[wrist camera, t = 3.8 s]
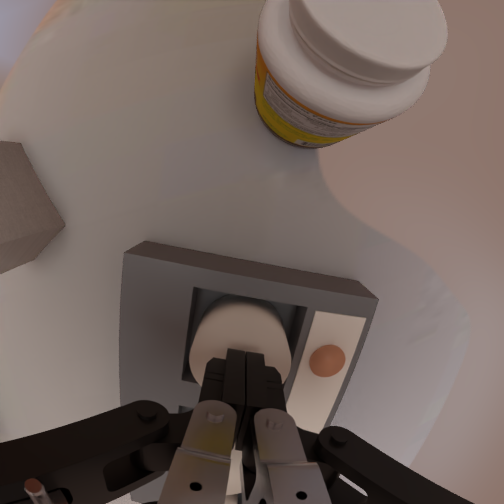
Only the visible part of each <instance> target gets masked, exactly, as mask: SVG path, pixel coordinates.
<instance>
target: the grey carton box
mask: <svg viewBox="0 0 504 504" xmlns="http://www.w3.org/2000/svg"><path fill="white" fill-rule="evenodd" d="M64 226H65V223H64V222H63V220H62V219H61V217H60V215H59V214H58V212H57V210H56V209H55V207H54V205H53V204H52V202H51V200H50V198H49V197H48V195H47V193H46V191H45V190H44V188H43V186H42V184H41V182H40V181H39V179H38V177H37V175H36V173H35V171H34V169H33V167H32V165H31V164H30V162H29V160H28V158H27V156H26V154H25V152H24V150H23V147H22V145H21V143H15V142H7V141H0V274H2V273H4V272H6V271H9V270H11V269H13V268H16V267H18V266H20V265H23V264H25V263H27V262H30V261H32V260H34V259H35V258H36V257H37V256H38V255H39V253H40V252H41V251H42V250H43V249H44V248H45V247H46V246H47V245H48V243H49V242H50V241H51V240H52V239H53V238H54V237H55V236H56V235H57V234H58V233H59V232H60V231H61V230H62V228H63V227H64Z"/></svg>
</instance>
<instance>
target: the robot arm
mask: <svg viewBox="0 0 504 504" xmlns="http://www.w3.org/2000/svg"><path fill="white" fill-rule="evenodd" d="M234 444H235V450H238V451H242V459H241V462H240V466H239V470H240V481H241V492H242V503H243V504H474V503H472V502H470V501H468V500H466V499H464V498H462V497H460V496H458V495H456V494H454V493H452V492H450V491H448V490H447V489H445V488H443V487H441V486H439V485H437V484H435V483H433V482H432V481H430V480H428V479H426V478H425V477H423V476H421V475H419V474H418V473H416V472H414V471H413V470H411V469H409V468H408V467H406V466H404V465H403V464H401V463H399V462H398V461H396V460H394V459H393V458H391V457H389V456H388V455H386V454H385V453H383V452H381V451H380V450H378V449H377V448H375V447H374V446H372V445H371V444H369V443H367V442H366V441H364V440H363V439H361V438H360V437H358V436H357V435H355V434H354V433H352V432H351V431H349V430H347V429H345V428H342V427H338V426H329V427H326V428H324V429H322V430H321V431H320V433H319V434H318V433H314V432H310V431H307V430H304V429H301V428H299V427H298V426H296V423H295V420H294V419H293V417H292V416H291V415H289V414H288V413H287V408H286V403H285V397H284V391H283V385H282V379H281V374H280V373H279V372H278V371H277V369H276V368H275V367H271V366H265V359H264V354H262V353H255V352H249V351H246V353H245V351H243V350H237V349H231V348H228V349H227V354H226V359H220V358H215V357H213V358H212V359H211V360H209V361H208V362H207V363H206V368H205V373H204V378H203V382H202V387H201V392H200V397H199V401H198V404H197V405H196V406H195V408H194V409H192V410H190V411H188V412H185V413H169V412H168V410H167V409H166V408H165V407H164V406H163V405H161V404H159V403H157V402H154V401H150V400H138V401H134V402H132V403H129V404H126V405H124V406H121V407H118V408H116V409H113V410H110V411H107V412H104V413H101V414H99V415H96V416H93V417H90V418H87V419H84V420H81V421H78V422H74V423H71V424H68V425H65V426H62V427H58V428H55V429H52V430H48V431H45V432H41V433H38V434H34V435H30V436H27V437H23V438H19V439H15V440H11V441H7V442H3V443H0V504H106V503H108V502H110V501H112V500H115V499H117V498H119V497H121V496H123V495H125V494H127V493H129V492H131V491H134V490H136V489H138V488H139V487H141V486H143V485H145V484H147V483H149V482H151V481H153V480H155V479H157V478H159V477H160V476H162V475H163V474H164V473H165V472H166V471H169V472H168V475H167V478H166V480H165V483H164V486H163V489H162V492H161V494H160V497H159V500H158V501H152V502H146V503H143V504H224V503H225V497H226V491H227V485H228V478H229V472H230V466H231V459H230V457H231V451H232V450H233V448H234ZM340 474H342V475H343V476H345V477H346V478H347V479H349V480H350V481H352V482H353V483H355V484H356V485H357V486H359V487H360V488H362V489H363V490H364V491H365V492H366V493H367V495H368V497H367V496H365V495H363V494H362V493H360V492H359V491H357V490H356V489H354V488H353V487H352V486H350V485H349V484H347V483H346V482H345V481H343V480H342V479H340V478H339V476H340Z"/></svg>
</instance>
